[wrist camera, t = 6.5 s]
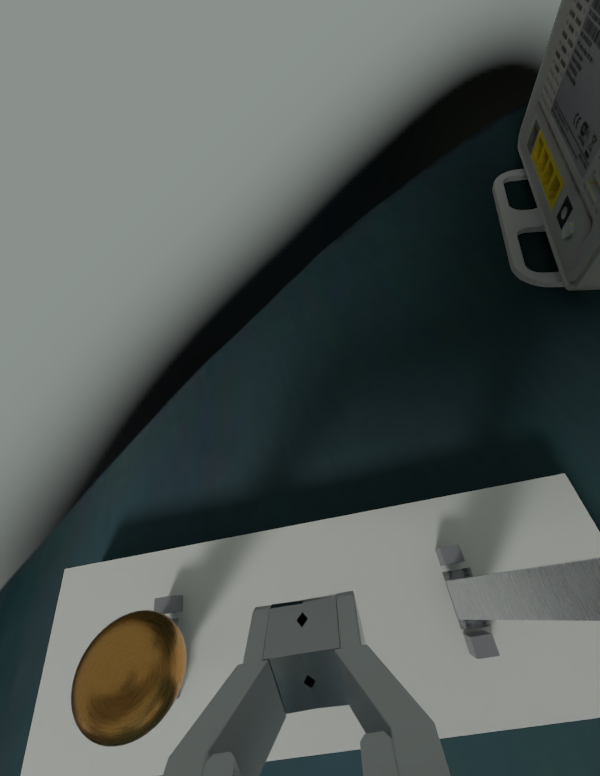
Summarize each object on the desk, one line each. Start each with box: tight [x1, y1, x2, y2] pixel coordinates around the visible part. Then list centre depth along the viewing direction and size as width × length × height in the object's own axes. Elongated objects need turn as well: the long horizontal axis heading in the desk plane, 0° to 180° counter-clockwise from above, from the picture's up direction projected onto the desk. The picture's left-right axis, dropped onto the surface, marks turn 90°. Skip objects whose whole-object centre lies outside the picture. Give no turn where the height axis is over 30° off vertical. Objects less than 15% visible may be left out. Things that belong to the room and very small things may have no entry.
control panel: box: [20, 473, 600, 776], centre depth 18 cm, size 32×10×4 cm, turn 99°
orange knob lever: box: [71, 610, 187, 747], centre depth 13 cm, size 3×3×12 cm
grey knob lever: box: [442, 557, 600, 630], centre depth 12 cm, size 3×3×12 cm
